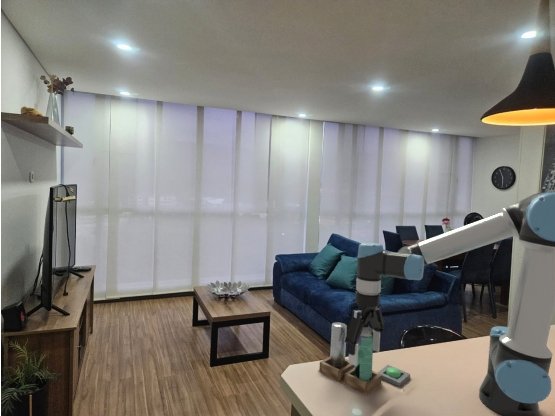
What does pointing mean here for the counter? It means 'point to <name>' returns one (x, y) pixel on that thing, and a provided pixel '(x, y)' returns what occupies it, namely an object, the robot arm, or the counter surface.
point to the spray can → (365, 355)
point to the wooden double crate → (350, 377)
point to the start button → (393, 372)
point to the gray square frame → (397, 382)
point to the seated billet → (338, 345)
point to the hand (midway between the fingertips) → (364, 357)
